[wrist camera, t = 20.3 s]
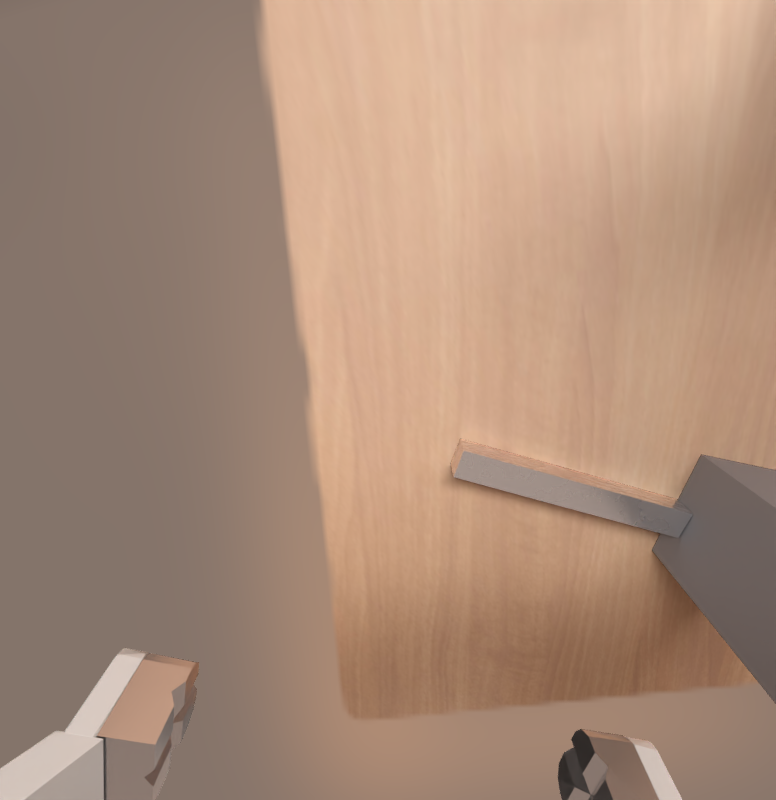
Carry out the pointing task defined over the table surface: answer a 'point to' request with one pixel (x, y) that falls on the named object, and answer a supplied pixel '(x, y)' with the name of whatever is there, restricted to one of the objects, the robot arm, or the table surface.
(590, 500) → the steel bar
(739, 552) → the column
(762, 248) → the table surface
